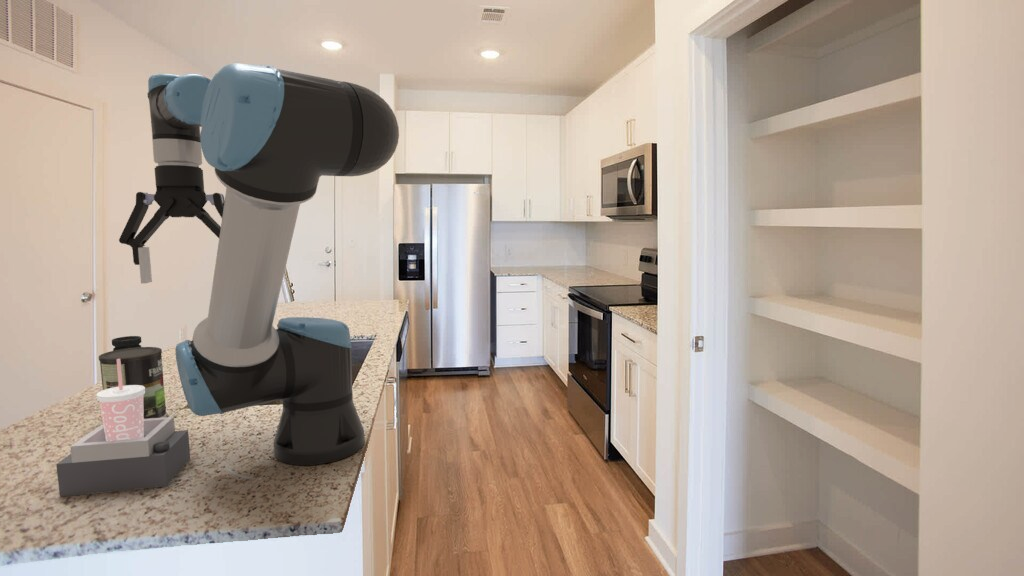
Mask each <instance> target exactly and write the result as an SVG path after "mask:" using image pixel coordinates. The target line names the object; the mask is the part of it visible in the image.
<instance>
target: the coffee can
mask: <svg viewBox="0 0 1024 576" xmlns="http://www.w3.org/2000/svg"><path fill="white" fill-rule="evenodd" d="M162 354H163V350H162V348H160V347H156V346H141V347H136V348H127V349H120V350H115V351H113V350H111V351H107V352H104V353H102V354H100V355H98V361H99V365H100V366H99V367H100V376H101V377H100V378H101V386H102V390H105V389H109V388H113V387H118V386H119V382H118V371H117V360H116V359H120V361H121V373H122V384H123V386H126V385H141V386H144V387H145V393H144V394H143V406H144V419H150V418H164V417H168V414H167V408H166V407H167V406H166V396H165V394H166V393H165V383H164V370H163V369H164V368H163V357H162Z"/></svg>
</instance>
